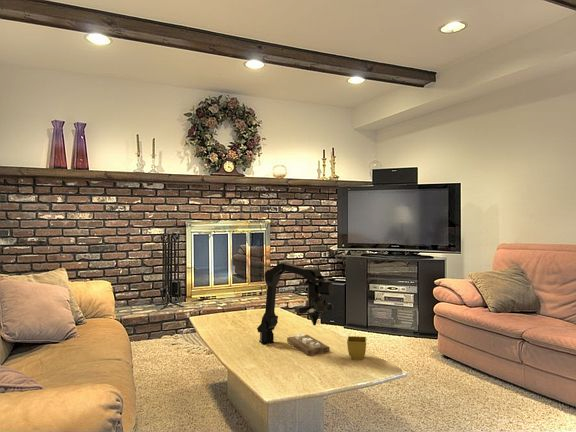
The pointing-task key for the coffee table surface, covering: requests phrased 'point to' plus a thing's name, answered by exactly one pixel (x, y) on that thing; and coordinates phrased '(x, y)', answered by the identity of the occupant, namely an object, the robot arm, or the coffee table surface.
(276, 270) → the robot arm
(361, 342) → the flower pot
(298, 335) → the button one
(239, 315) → the coffee table surface
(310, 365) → the coffee table surface
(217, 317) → the coffee table surface
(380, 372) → the coffee table surface
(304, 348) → the button panel
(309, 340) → the button two
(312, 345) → the button three
